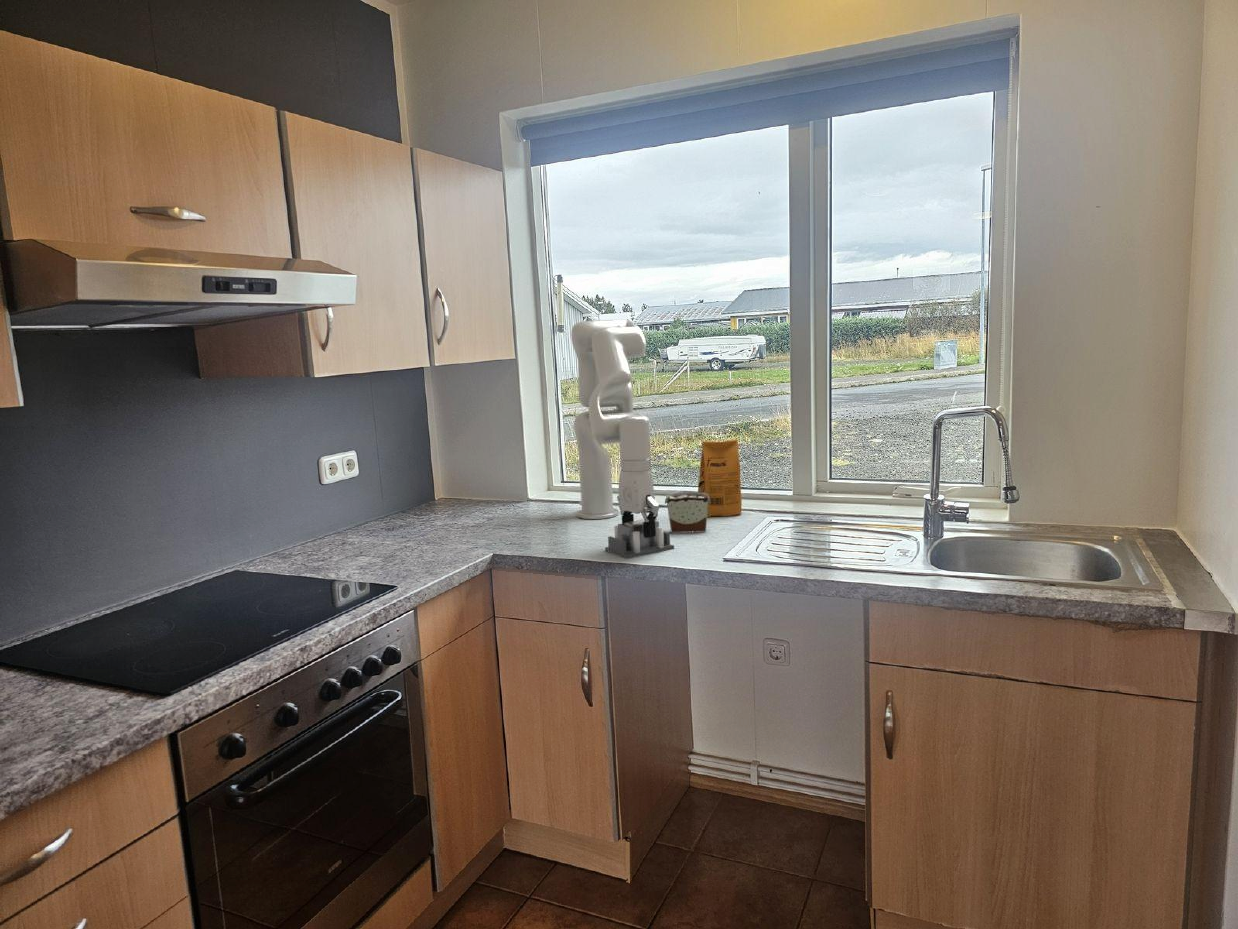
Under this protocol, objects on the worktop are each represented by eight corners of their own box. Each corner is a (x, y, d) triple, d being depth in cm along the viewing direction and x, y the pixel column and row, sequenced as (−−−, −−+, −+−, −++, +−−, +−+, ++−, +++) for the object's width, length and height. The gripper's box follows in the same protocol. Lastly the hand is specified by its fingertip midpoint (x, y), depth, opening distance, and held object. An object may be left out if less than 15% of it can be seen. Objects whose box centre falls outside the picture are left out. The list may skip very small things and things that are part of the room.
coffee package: (697, 511, 244) (694, 439, 241) (738, 509, 244) (736, 437, 241) (701, 518, 234) (698, 443, 231) (743, 516, 234) (741, 441, 231)
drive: (618, 547, 202) (617, 523, 201) (648, 541, 206) (647, 517, 205) (629, 551, 197) (628, 526, 196) (659, 545, 202) (658, 520, 201)
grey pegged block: (605, 550, 202) (603, 527, 202) (651, 541, 210) (650, 519, 209) (626, 558, 194) (625, 535, 193) (674, 548, 201) (673, 525, 200)
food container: (711, 526, 223) (710, 491, 222) (711, 531, 217) (710, 495, 216) (666, 527, 224) (665, 492, 223) (665, 532, 218) (664, 496, 217)
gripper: (604, 464, 204) (608, 530, 207) (642, 471, 189) (645, 542, 192) (629, 460, 208) (632, 525, 210) (668, 467, 193) (671, 537, 196)
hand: (638, 533), depth 201 cm, fingers open, 9 cm apart
